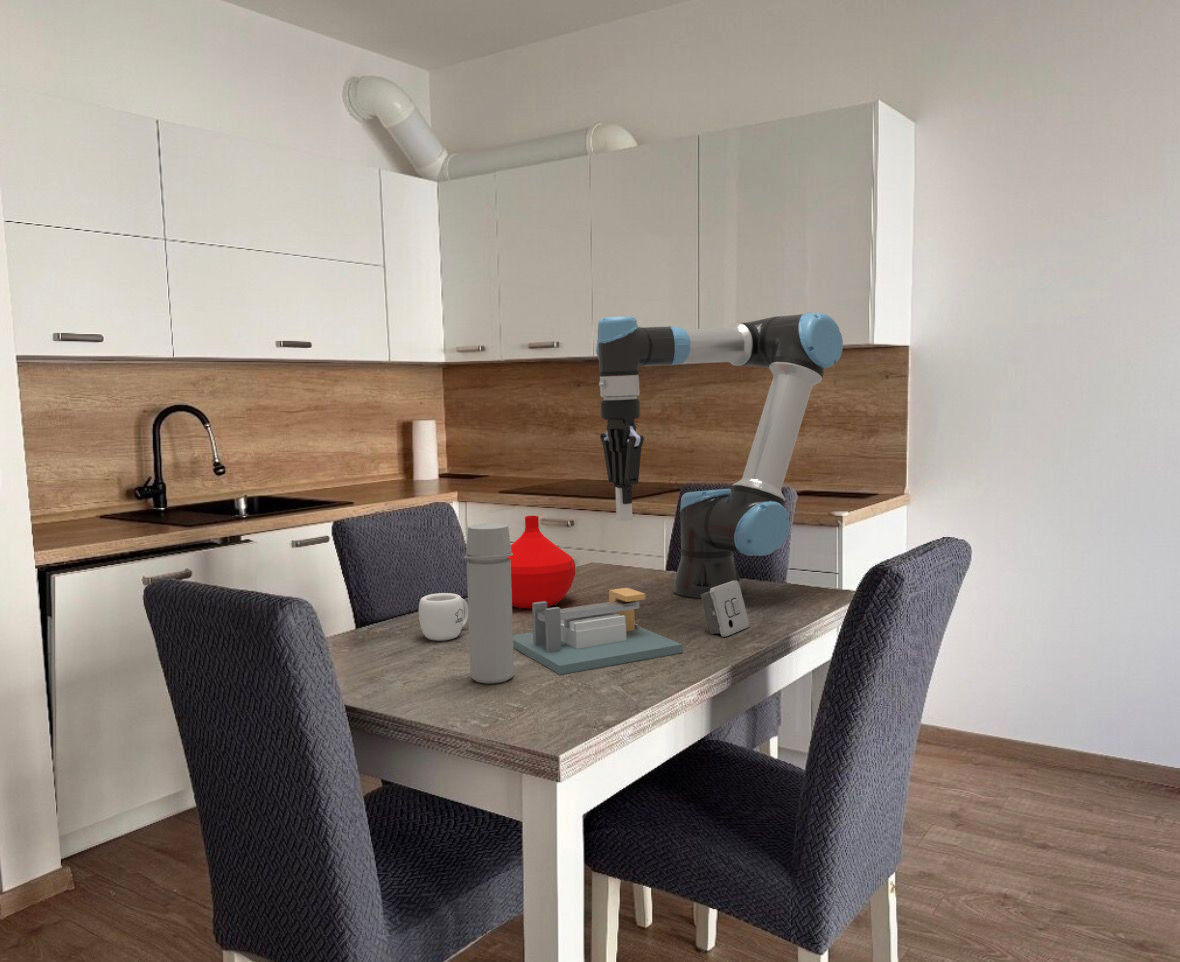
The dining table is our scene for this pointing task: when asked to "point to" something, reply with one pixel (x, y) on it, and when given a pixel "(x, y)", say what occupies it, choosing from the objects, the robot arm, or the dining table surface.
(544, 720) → the dining table surface
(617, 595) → the orange block
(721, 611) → the electrical switch
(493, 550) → the water bottle
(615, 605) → the grey long bar
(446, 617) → the mug
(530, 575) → the vase
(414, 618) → the dining table surface
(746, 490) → the robot arm
